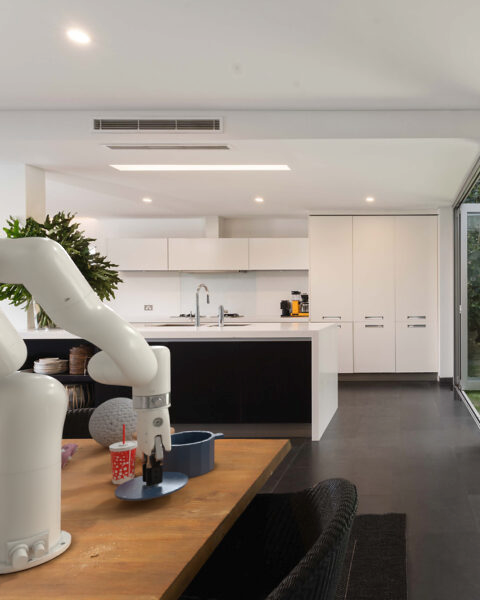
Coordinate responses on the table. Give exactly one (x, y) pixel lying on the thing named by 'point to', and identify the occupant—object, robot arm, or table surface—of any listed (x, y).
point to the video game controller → (67, 453)
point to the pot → (191, 453)
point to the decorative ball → (113, 421)
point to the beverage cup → (123, 460)
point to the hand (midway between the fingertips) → (152, 481)
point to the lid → (150, 487)
